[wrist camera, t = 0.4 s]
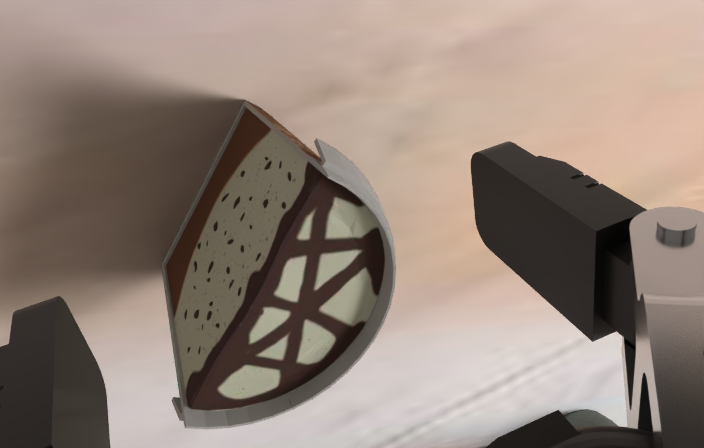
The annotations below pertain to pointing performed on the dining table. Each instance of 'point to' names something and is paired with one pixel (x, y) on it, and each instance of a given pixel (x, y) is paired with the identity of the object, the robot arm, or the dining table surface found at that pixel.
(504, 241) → the robot arm
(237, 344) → the food container
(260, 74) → the dining table surface
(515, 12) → the dining table surface
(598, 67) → the dining table surface
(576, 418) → the bottle
